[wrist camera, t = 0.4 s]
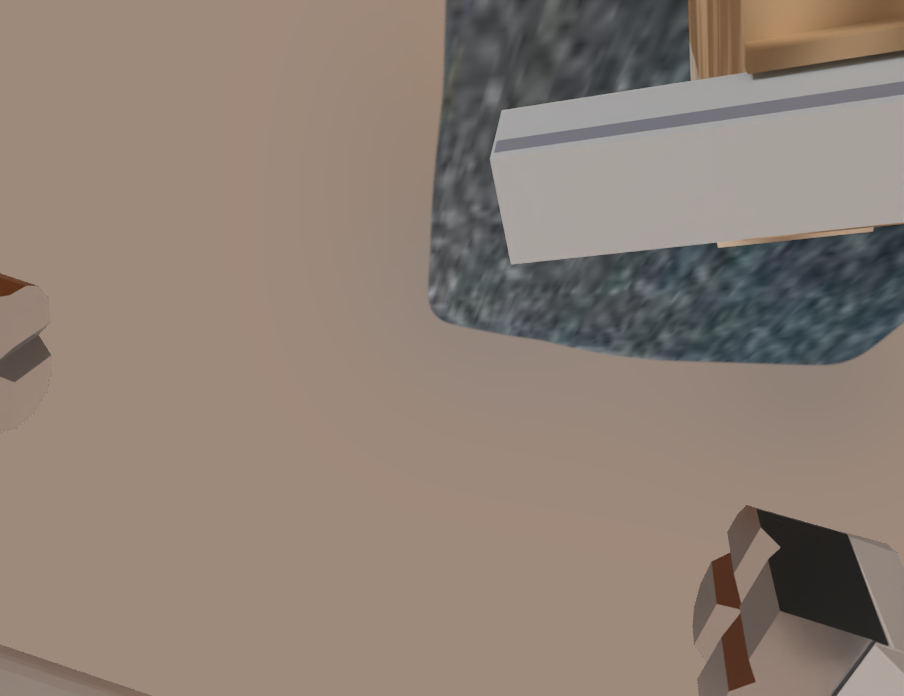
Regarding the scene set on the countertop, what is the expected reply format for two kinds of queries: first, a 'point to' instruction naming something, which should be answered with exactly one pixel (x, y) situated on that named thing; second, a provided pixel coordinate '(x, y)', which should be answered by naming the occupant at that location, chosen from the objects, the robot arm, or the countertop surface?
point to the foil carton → (704, 161)
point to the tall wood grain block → (789, 45)
